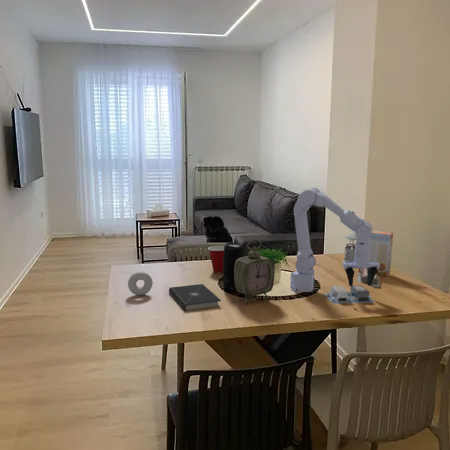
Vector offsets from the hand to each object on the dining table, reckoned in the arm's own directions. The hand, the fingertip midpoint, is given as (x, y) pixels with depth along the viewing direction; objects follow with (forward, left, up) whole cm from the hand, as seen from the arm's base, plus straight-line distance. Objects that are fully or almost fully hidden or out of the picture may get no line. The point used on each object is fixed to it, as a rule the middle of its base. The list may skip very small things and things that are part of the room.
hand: (359, 285), depth 191 cm
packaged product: (+15, +26, -7) cm, 31 cm away
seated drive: (-8, 0, -5) cm, 10 cm away
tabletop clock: (-43, +4, -7) cm, 44 cm away
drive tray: (-4, 0, -6) cm, 8 cm away
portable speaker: (-49, +19, -7) cm, 53 cm away
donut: (-88, +13, -7) cm, 89 cm away
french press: (+20, +57, -7) cm, 61 cm away
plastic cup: (-52, +46, -7) cm, 70 cm away
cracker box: (+23, +36, -7) cm, 44 cm away
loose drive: (0, 0, -5) cm, 5 cm away
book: (-66, +7, -7) cm, 67 cm away
